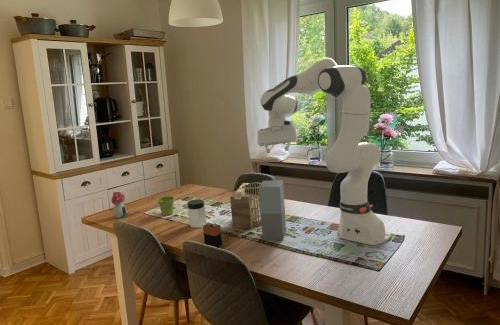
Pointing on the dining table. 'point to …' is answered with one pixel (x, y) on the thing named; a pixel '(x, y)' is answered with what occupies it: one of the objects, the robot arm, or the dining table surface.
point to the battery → (212, 234)
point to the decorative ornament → (119, 205)
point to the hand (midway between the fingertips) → (277, 151)
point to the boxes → (262, 210)
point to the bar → (240, 192)
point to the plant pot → (166, 204)
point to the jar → (196, 213)
